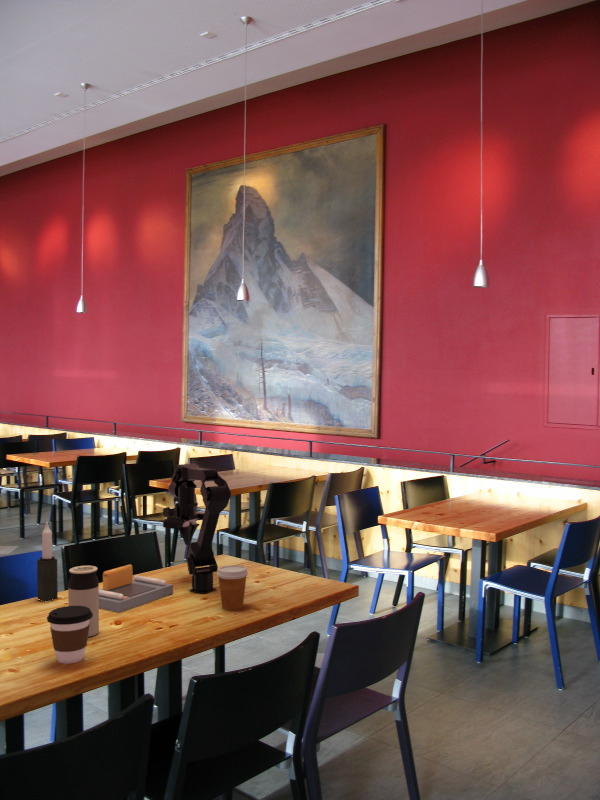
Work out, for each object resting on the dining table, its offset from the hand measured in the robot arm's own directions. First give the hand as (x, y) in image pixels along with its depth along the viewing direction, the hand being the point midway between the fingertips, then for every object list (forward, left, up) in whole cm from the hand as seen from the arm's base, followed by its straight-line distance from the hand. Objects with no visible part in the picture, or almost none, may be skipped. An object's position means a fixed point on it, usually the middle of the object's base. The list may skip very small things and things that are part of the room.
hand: (187, 544), depth 258 cm
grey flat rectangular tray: (+2, +26, -13) cm, 29 cm away
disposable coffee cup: (-32, +16, -13) cm, 38 cm away
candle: (+24, +40, -13) cm, 48 cm away
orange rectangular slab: (+7, +26, -10) cm, 29 cm away
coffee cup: (-24, +72, -13) cm, 77 cm away
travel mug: (-12, +57, -13) cm, 60 cm away
